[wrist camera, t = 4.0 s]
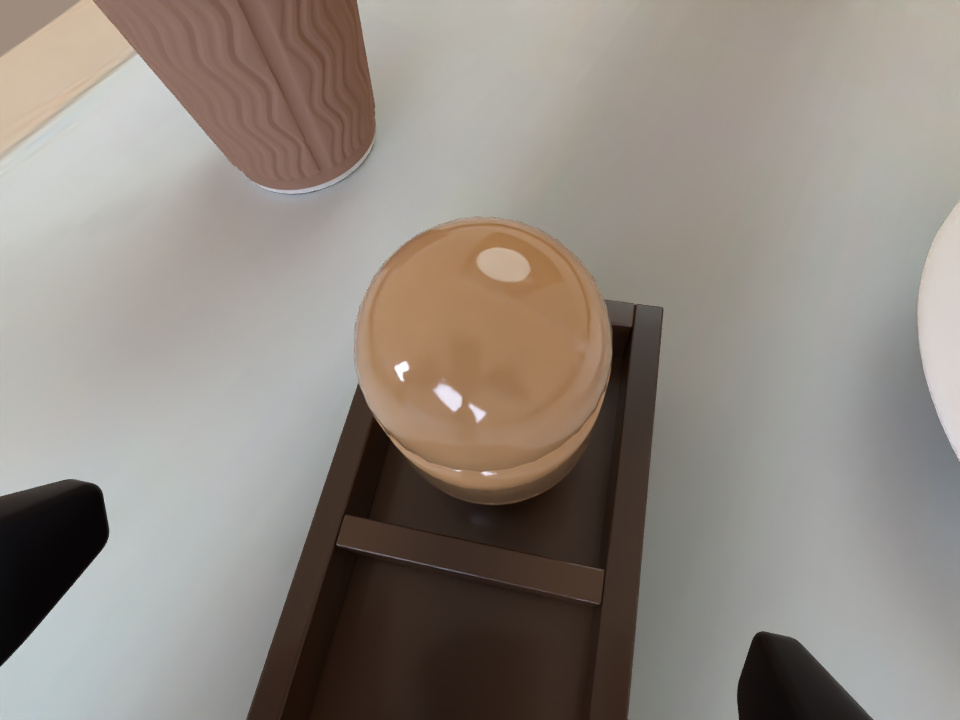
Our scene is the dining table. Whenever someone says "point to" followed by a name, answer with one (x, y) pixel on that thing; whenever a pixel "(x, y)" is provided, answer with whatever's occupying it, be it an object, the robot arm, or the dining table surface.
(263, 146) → the coffee cup
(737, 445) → the dining table surface
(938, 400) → the candlestick
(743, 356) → the dining table surface
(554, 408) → the egg
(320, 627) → the dark brown wooden tray
